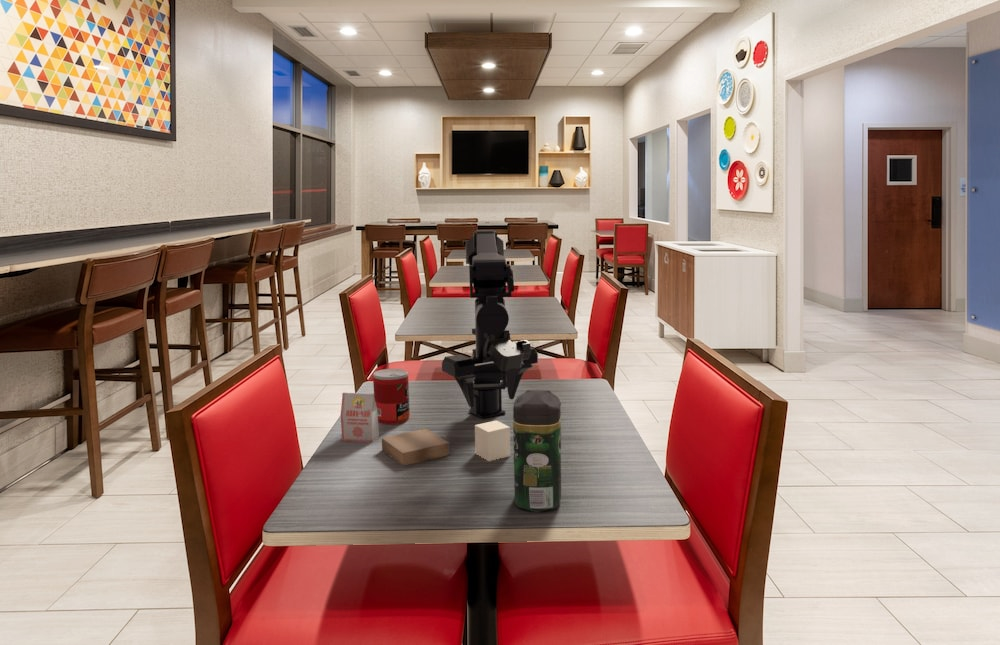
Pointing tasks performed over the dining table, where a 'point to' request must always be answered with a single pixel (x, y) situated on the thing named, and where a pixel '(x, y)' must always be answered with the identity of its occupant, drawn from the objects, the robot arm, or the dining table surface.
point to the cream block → (492, 440)
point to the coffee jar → (537, 450)
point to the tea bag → (359, 417)
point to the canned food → (391, 395)
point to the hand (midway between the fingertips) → (491, 402)
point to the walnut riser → (415, 446)
